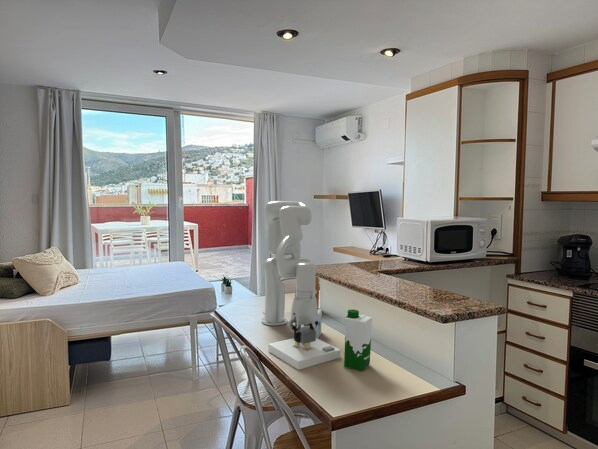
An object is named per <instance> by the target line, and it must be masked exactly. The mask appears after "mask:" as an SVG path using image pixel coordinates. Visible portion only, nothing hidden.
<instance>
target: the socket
mask: <svg viewBox="0 0 598 449" xmlns="http://www.w3.org/2000/svg"><path fill="white" fill-rule="evenodd" d="M267 352H269V353H270V354H272V355H273V356H275V357H277V358H279V359H280V360H282V361H283V362H285V363H286V364H288V365H289V366H291V367H293V368H294V369H297V370H303V369H306V368H309V367H312V366H313V367H314V366H316V365H319V364H323V363H326V362H330V361H334V360H336V359H339V358H341V352H342V351H341V349H339V348H338V347H336V346H334V345H332V344H329V343H328V342H325V341H324V340H321V339H317V338H316V341H313V342H310V348H309V349H306V348H305V344H302V343H300V346H298V347H296V346H295V341H294V339H293V337H292V338H287V339H285V340H284V339H283V340H279V341H276V342H275V341H274V342H270V343H268V350H267Z"/></svg>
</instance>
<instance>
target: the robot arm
mask: <svg viewBox="0 0 598 449" xmlns="http://www.w3.org/2000/svg"><path fill="white" fill-rule="evenodd" d="M264 213H265V219H266V223H267V251H268V253H269V254H270V255H272V256H275V257H269V258H267V259H266V260H265V261H264V264H263V272H264V281H265V282H264V284H265V285H264V286H265V287H264V288H265V289H264V290H265V294H264V310H263V311H262V314H263V315H264V316H263V318H261V323H262V324H263V325H265V326H278V327H279V326H283V325H286V324H287V325H288V326H289V327H290V329H291V330H292V331H293V332H294V341H296V342H298V343H300V335H301V333H300V332H299V331H300V328H301V327H302V326H304V324H309V328H311V329H313V330H315V329H316V326H317V324H318V322H319V321H320V320H321V317H320V316H319V315H318V309H319V308H318V309H317V300H316V297H315V293H317V290H315V279H316V271H317V269H316V268H317V266H316V264H315V263H314V262H312V261H311V259H308V258H301V250H302V249H301V247H302V246H301V241H302V240H303V237H304V235H303V231H302V226H308V225H309V224H311V222H312V219H313V215H312V211H311V209H310V207H309V206H308V205H306V204H304V202H300V201H293V200H291V201H290V200H273V201H269V202H267V203H266V205H265V208H264ZM286 256H289V257H286ZM281 278H284V279H295V288H296V298H295V297H293V299H292V304H291V313H290V320H289V321H288V319H287V317H285V308H286V307H285V306H286V304H285V302H286V301H285V298H286V286H285V283H284V282H283V281H282V280H281Z"/></svg>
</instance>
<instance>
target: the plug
mask: <svg viewBox="0 0 598 449" xmlns="http://www.w3.org/2000/svg"><path fill="white" fill-rule="evenodd" d="M299 332H300V333H301V335H300V343H302V344H305V348H306V349H309V348H310V342H313V341H316V331H315V330H313V329H311V328H309V327H306V326H305V327H304V326H301V328H300V331H299ZM292 336H293V337H292V338H293V339H294V331H293V335H292ZM300 343H298V342H296V341H295V346H296V347H298V346H300Z"/></svg>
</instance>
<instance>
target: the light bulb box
mask: <svg viewBox="0 0 598 449" xmlns="http://www.w3.org/2000/svg"><path fill="white" fill-rule="evenodd" d="M318 315H319V316H320V317H321V320H320V321H319V322H318V324H317V326H316V329H315V331H316V338H317V339H319V338H320V336H321V335H322V325H323V324H322V321H323V320H322V319H323V318H322V316H323V309H319V308H318ZM305 326H306V327H309V324H304V325H303V327H305ZM319 340H320V339H319Z"/></svg>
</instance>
